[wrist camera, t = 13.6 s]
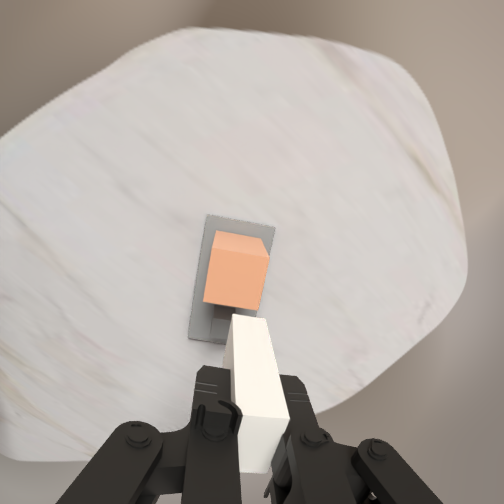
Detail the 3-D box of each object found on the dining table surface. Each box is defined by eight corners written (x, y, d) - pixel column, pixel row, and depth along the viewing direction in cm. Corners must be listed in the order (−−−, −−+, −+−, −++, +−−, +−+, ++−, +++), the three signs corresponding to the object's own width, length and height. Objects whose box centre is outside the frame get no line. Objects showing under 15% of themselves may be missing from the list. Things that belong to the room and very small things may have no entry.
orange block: (208, 273, 38) (202, 301, 29) (216, 230, 37) (211, 247, 28) (252, 280, 38) (257, 310, 30) (260, 238, 37) (269, 257, 29)
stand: (188, 335, 41) (179, 375, 32) (207, 214, 37) (200, 227, 28) (248, 345, 42) (252, 385, 33) (274, 227, 38) (287, 243, 29)
